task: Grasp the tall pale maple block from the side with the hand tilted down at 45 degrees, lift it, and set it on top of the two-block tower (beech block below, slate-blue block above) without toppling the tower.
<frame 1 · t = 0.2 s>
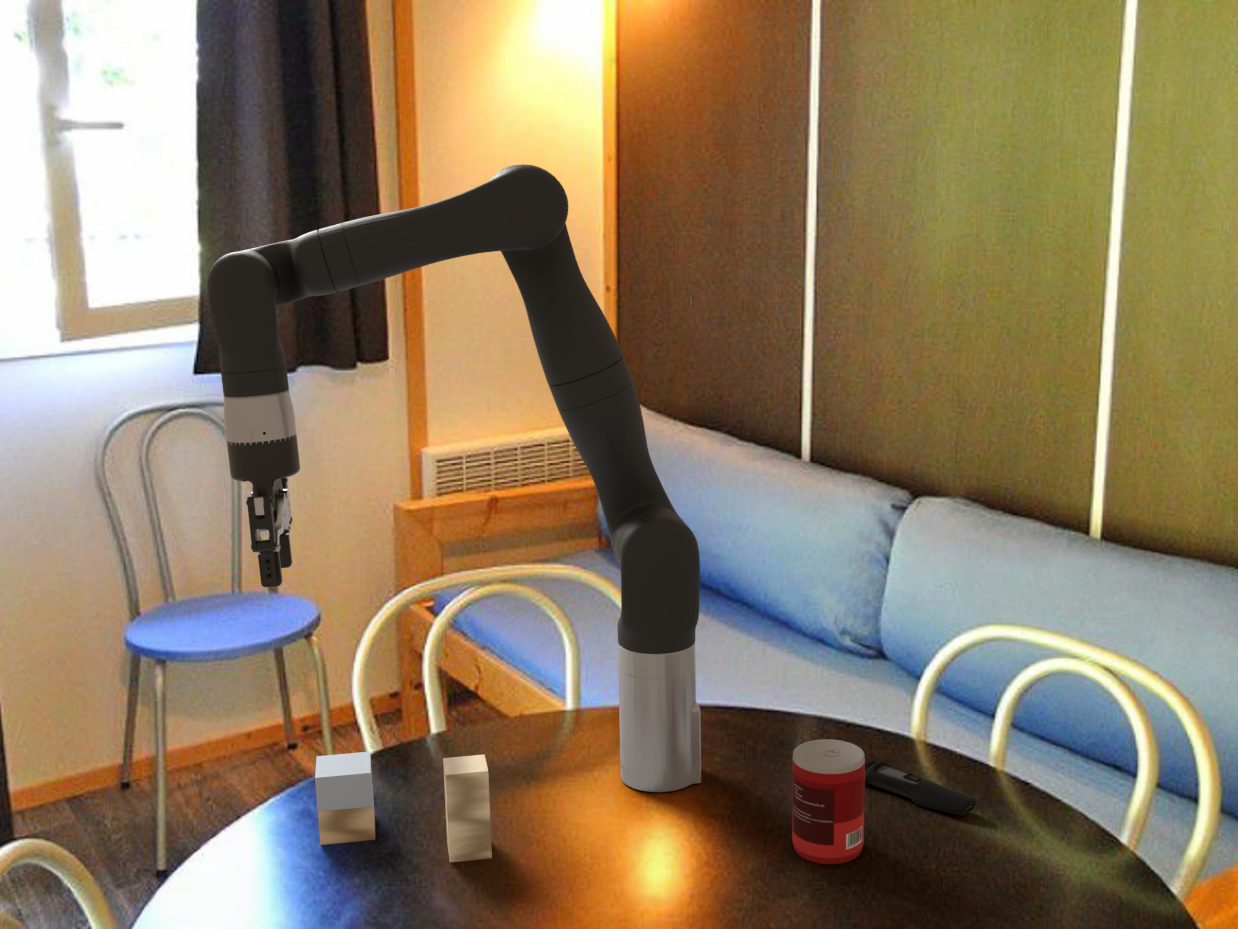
hand: (277, 576, 159), 28 cm above the table, tool pointing down, fingers open, 8 cm apart
tower mid: (345, 798, 159), point 4 cm above the table, touching tower base
canned food: (827, 850, 153), on the table
tower base: (348, 831, 160), on the table, touching tower mid
maple block: (469, 850, 154), on the table
electric trimmer: (915, 801, 165), on the table
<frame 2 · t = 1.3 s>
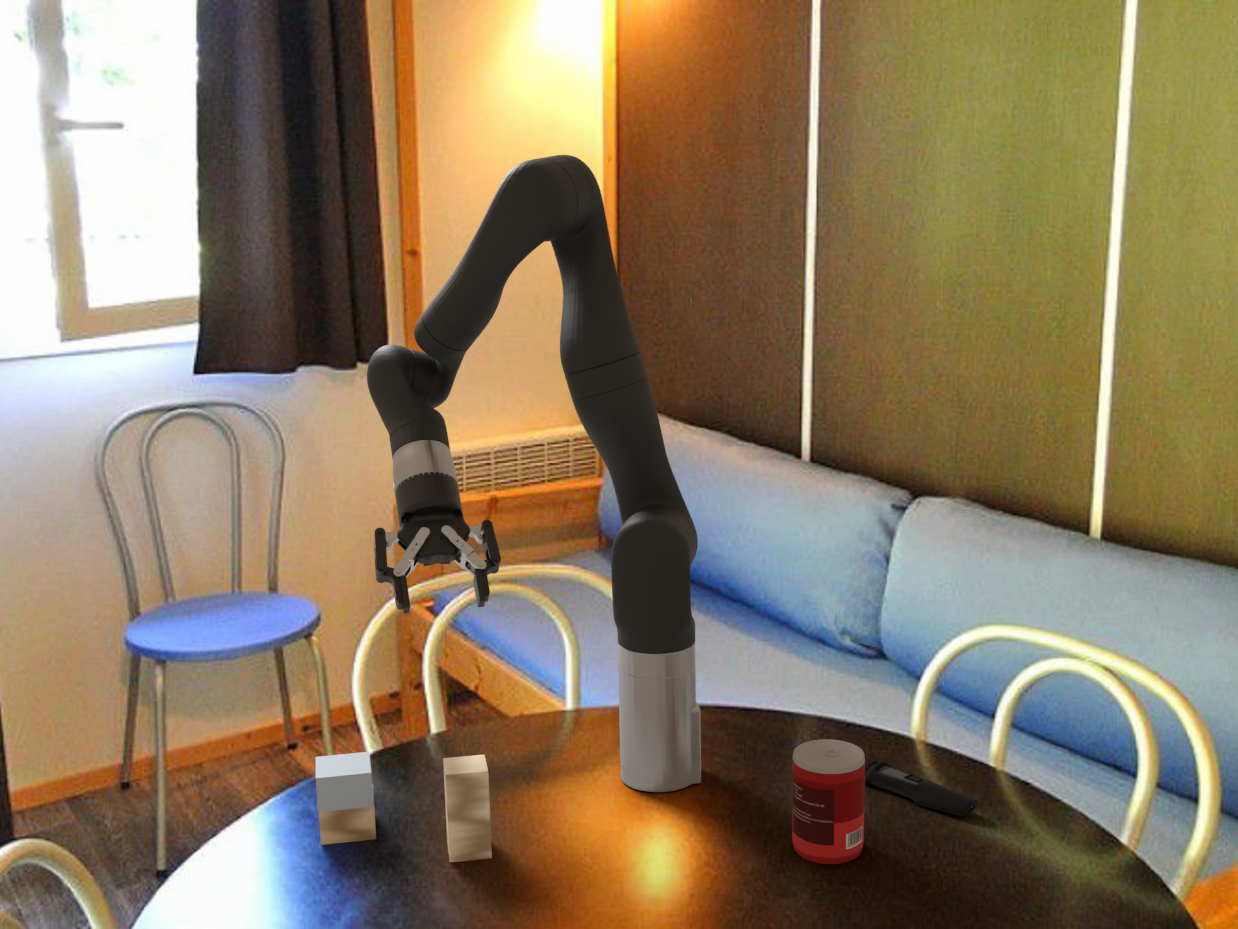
hand: (444, 607, 161), 24 cm above the table, tool tilted 45°, fingers open, 8 cm apart
nothing on the table moved.
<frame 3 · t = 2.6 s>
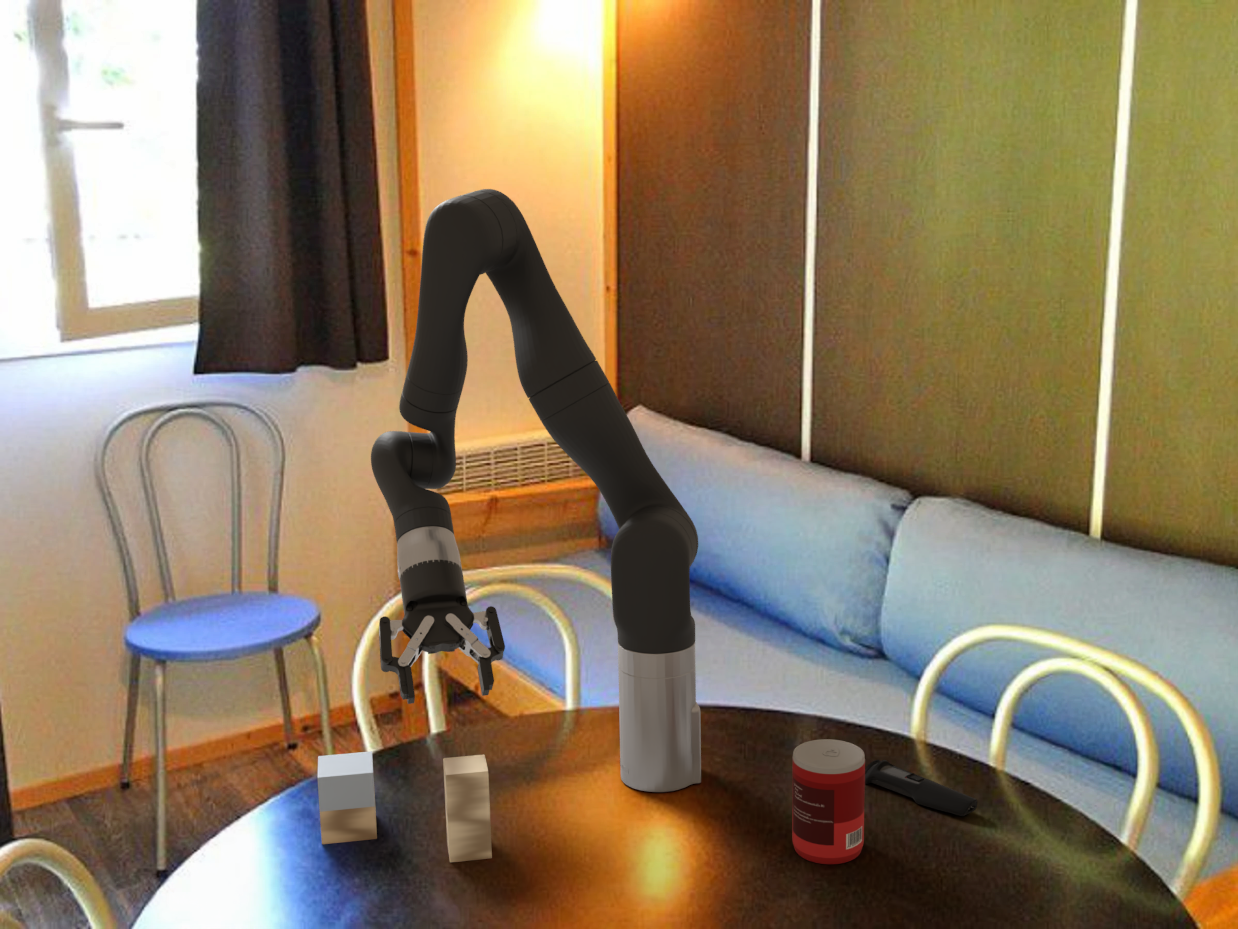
hand: (449, 696, 162), 14 cm above the table, tool tilted 45°, fingers open, 8 cm apart
nothing on the table moved.
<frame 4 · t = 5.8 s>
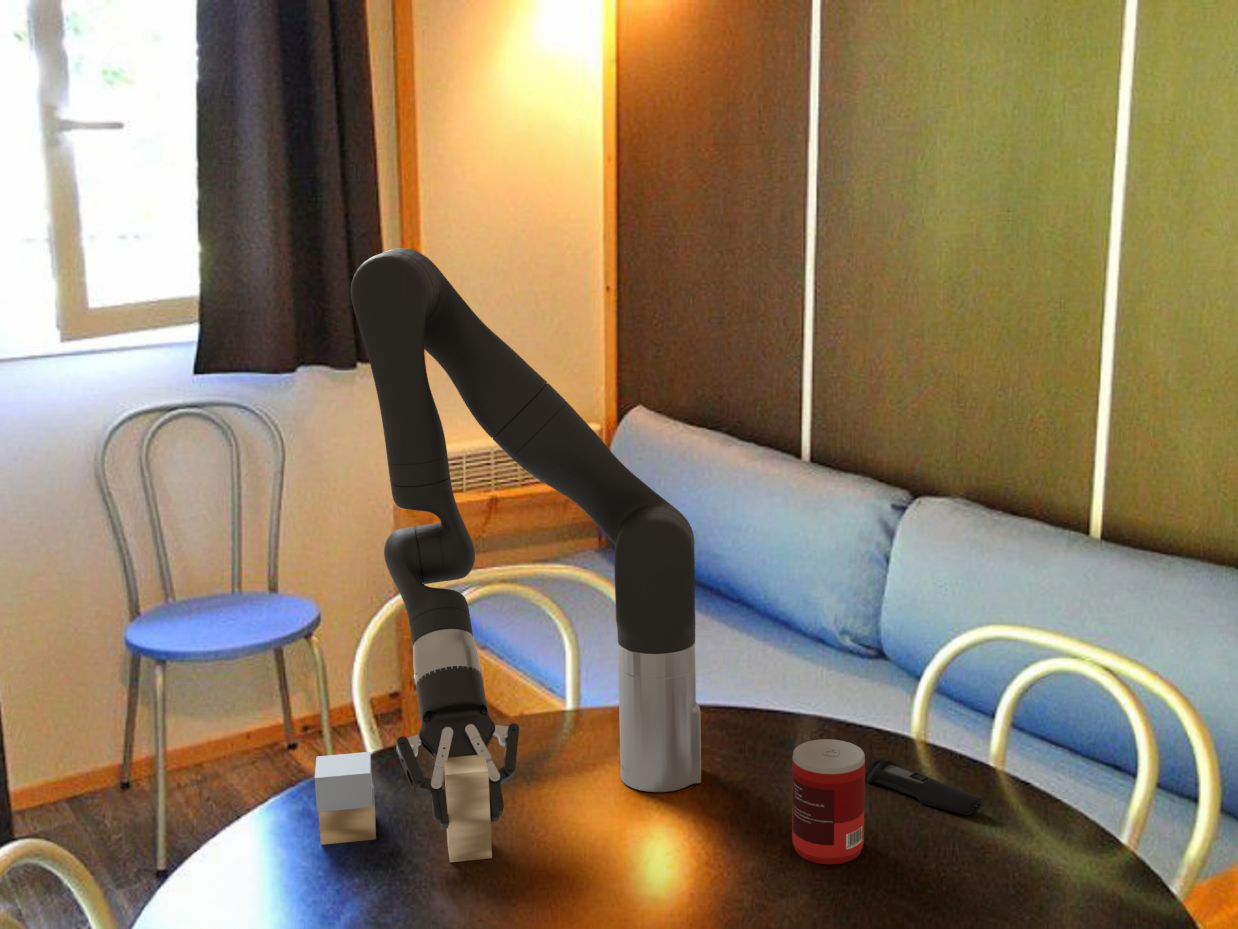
hand: (470, 822, 152), 4 cm above the table, tool tilted 45°, fingers closed on maple block, 4 cm apart
maple block: (469, 850, 154), on the table, touching gripper
everything else where it was.
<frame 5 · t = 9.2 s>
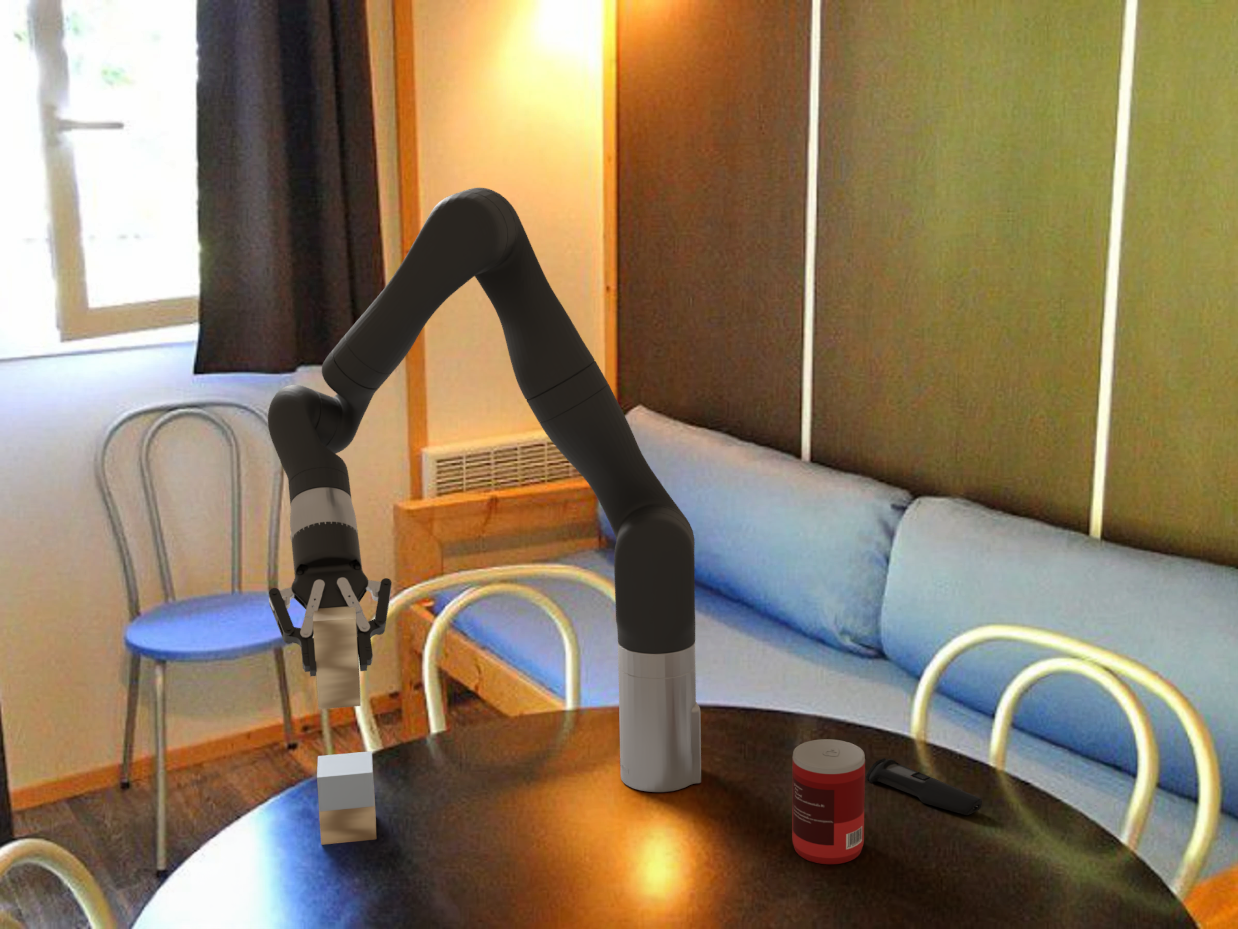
hand: (339, 670, 154), 20 cm above the table, tool tilted 45°, fingers closed on maple block, 4 cm apart
maple block: (339, 700, 157), point 15 cm above the table, touching gripper
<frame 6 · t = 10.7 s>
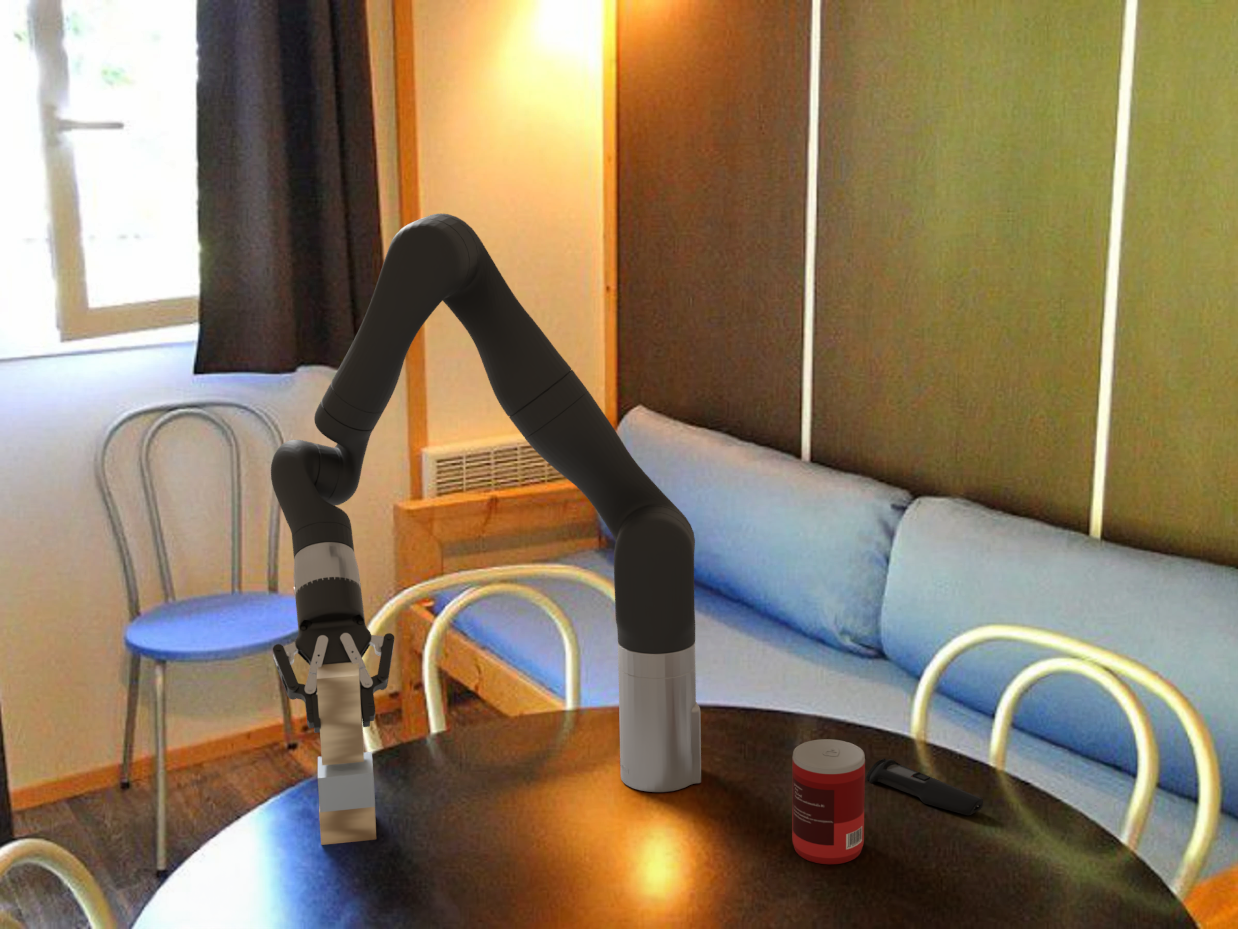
hand: (342, 726, 156), 13 cm above the table, tool tilted 45°, fingers closed on maple block, 4 cm apart
maple block: (343, 755, 158), point 9 cm above the table, touching gripper
when the fingers open (13 cm above the table, at t = 11.0 s): maple block drops 1 cm, resting on tower mid.
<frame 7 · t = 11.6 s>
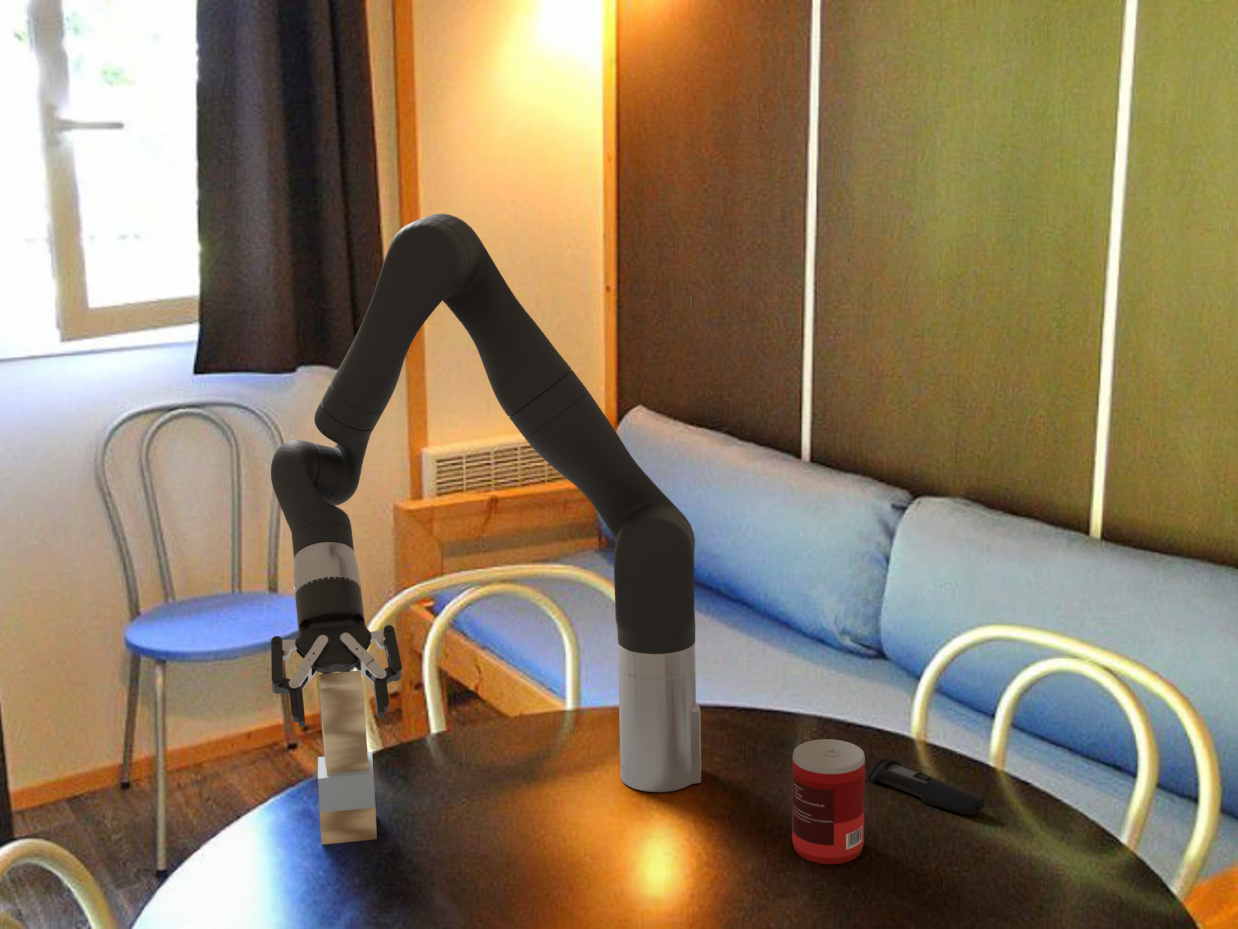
hand: (341, 719, 156), 14 cm above the table, tool tilted 45°, fingers open, 8 cm apart
tower mid: (347, 798, 159), point 4 cm above the table, touching maple block, tower base
maple block: (346, 764, 158), point 8 cm above the table, touching tower mid
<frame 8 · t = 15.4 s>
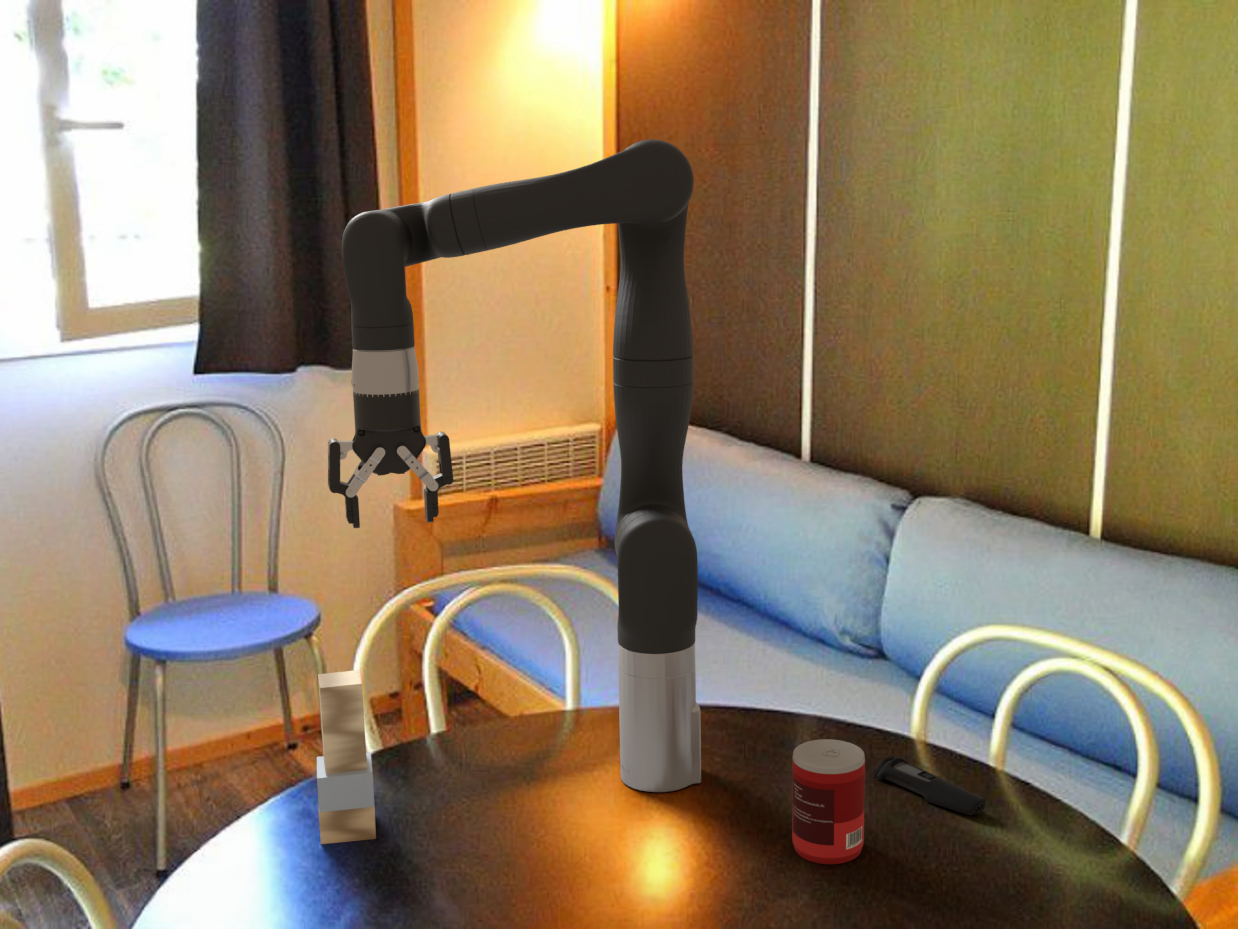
hand: (393, 524, 166), 32 cm above the table, tool pointing down, fingers open, 8 cm apart
tower mid: (346, 798, 159), point 4 cm above the table, touching tower base
maple block: (345, 763, 159), point 8 cm above the table
at the end: maple block 0.1 cm off-centre on the tower base, point 8.0 cm above the tower base's base; maple block tilted 0°; tower mid tilted 0° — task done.
